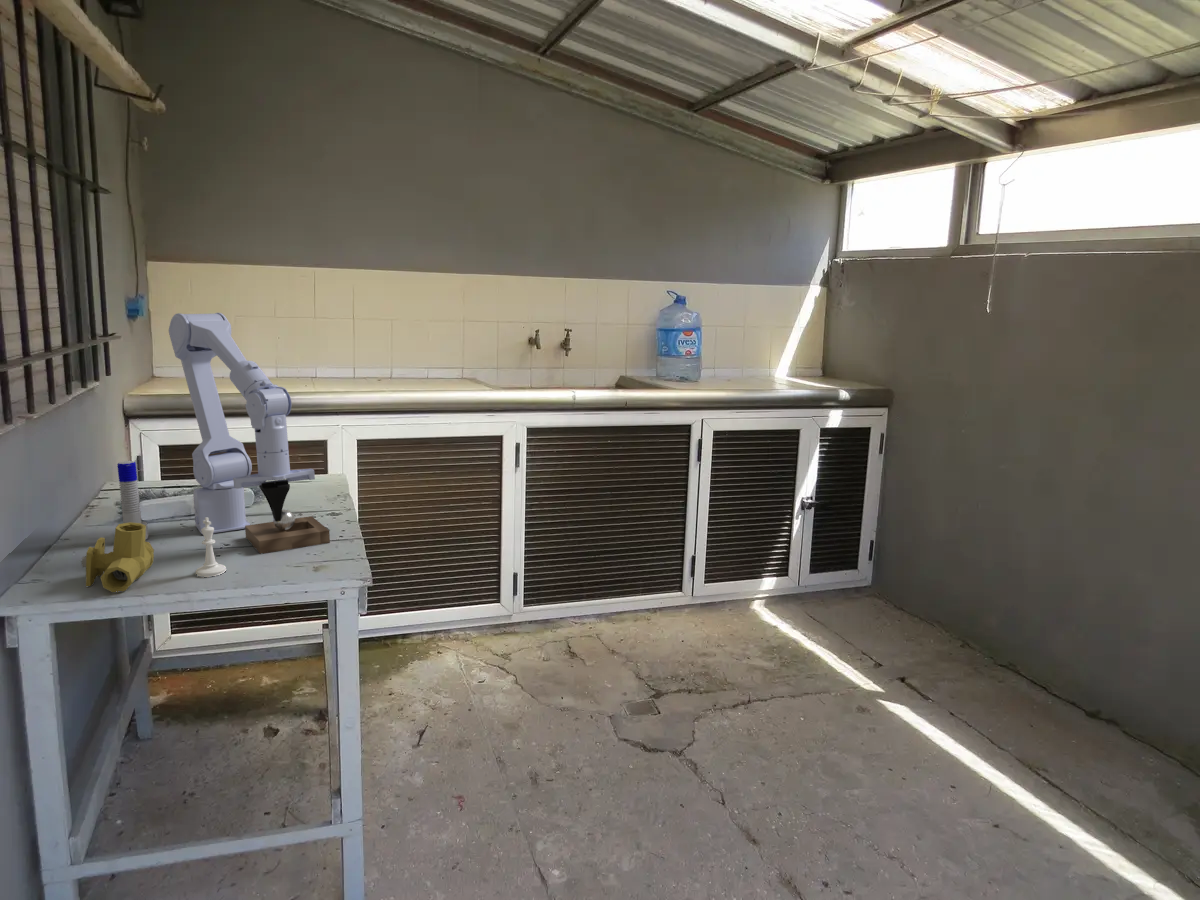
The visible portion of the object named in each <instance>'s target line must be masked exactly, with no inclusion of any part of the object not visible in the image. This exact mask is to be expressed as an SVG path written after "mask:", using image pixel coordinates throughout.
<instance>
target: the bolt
mask: <svg viewBox="0 0 1200 900" xmlns="http://www.w3.org/2000/svg"><path fill="white" fill-rule="evenodd" d="M137 473H138V472H137V464H136V461H134V460H124V461H123V460H122V461H119V462H118V463H117V475H118V484H119V485H118V486H119V493H120V495H119V496H120V500H121V501H120V502H121V504H120V505H121V511H122V513H121V514H122V524H123V523H129V522H133V523H141V524H143V525H146V536H145V541H146V540H148V539H149V527H148V522H147V521H142V511H141V505H140V503H141V501H140V495H139V494H140V492H139V485H138V484H139V483H138V482H139V481H138V474H137Z"/></svg>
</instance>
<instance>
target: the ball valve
mask: <svg viewBox="0 0 1200 900" xmlns="http://www.w3.org/2000/svg"><path fill="white" fill-rule="evenodd" d="M145 536H146V525H143V524H141V523H133V522H129V523H123V522H122V523H118V524H117V526H116V527H115V530H114V538H113V549H112V551H110V552H108V553H107V552H106V551H105V550H106V538H105V537H99V538H98V539H97V540H96V543H95V544H94V547H93V546H88V549H87V551H86V554H85V556H82V558H81V565H82V568H85V587H86V586H91V585H92V584H93V583H95V581H96V579H97V577H99V578H100V581H101V584H102V585H101V586H102V587H103V589H105V590H107V591H109V592H111V593H113V592H116V591H117V593H119V592H118V591H122V592H126V590H128V589H129V587H131V585H133V583H134V582H135V581H137V580H138V579H139V578H141V577H142V576H143V575H144V574H145V573H146V571H147V570H149V569H150V568H151V566H152V565H153V563H154V559H155V557H154V556H155V554H154V553H155V549H154V547H153V546H152V544H151V543H150V542H149V541H146V540H145ZM136 579H137V580H136ZM134 580H135V581H134ZM93 585H94V584H93ZM93 585H92V586H93ZM92 586H91V587H92Z"/></svg>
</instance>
